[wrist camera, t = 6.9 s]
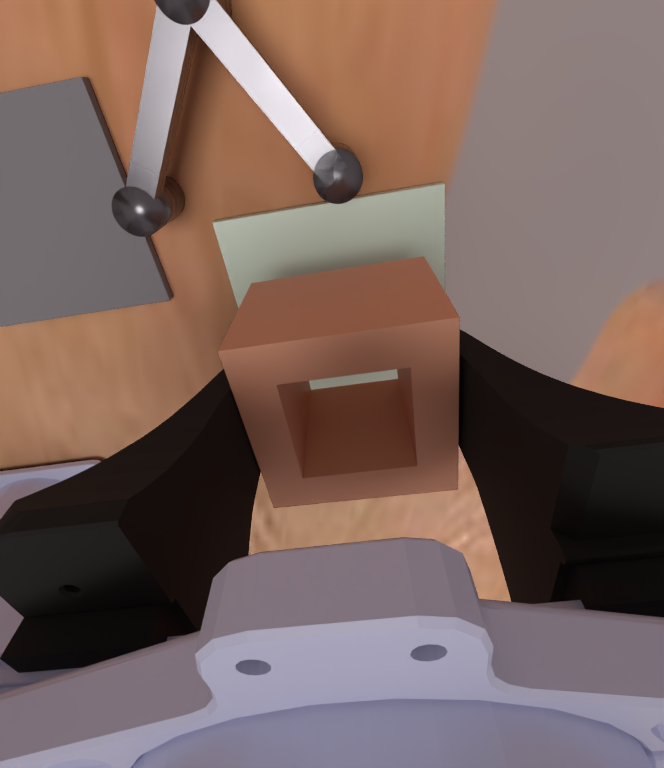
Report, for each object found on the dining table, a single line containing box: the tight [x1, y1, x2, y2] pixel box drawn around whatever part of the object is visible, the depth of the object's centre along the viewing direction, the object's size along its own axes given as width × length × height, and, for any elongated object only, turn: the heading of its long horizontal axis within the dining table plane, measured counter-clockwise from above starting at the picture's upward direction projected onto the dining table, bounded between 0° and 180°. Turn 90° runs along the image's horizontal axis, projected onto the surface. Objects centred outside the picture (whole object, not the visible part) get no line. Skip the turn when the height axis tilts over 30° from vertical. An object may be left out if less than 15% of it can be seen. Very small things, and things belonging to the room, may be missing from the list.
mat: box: [0, 77, 173, 327], centre depth 14 cm, size 7×7×1 cm
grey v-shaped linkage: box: [111, 0, 363, 237], centre depth 12 cm, size 6×7×2 cm
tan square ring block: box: [218, 256, 460, 508], centre depth 12 cm, size 5×5×4 cm
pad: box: [213, 182, 445, 390], centre depth 16 cm, size 8×8×1 cm
